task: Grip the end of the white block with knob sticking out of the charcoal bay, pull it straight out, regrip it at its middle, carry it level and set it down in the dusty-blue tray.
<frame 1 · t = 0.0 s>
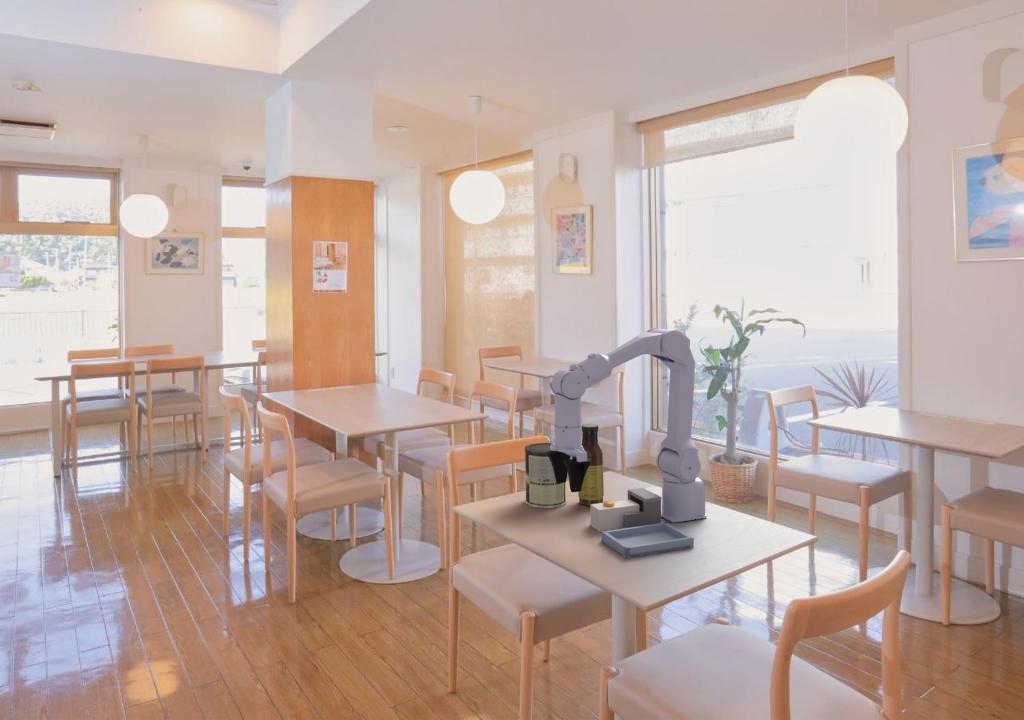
hand: (568, 487, 157), 10 cm above the table, tool pointing down, fingers open, 7 cm apart
tray: (646, 544, 150), on the table
white block with knob: (614, 526, 162), on the table
coffee can: (545, 503, 180), on the table
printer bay: (634, 522, 164), on the table
sauce bottle: (590, 504, 179), on the table
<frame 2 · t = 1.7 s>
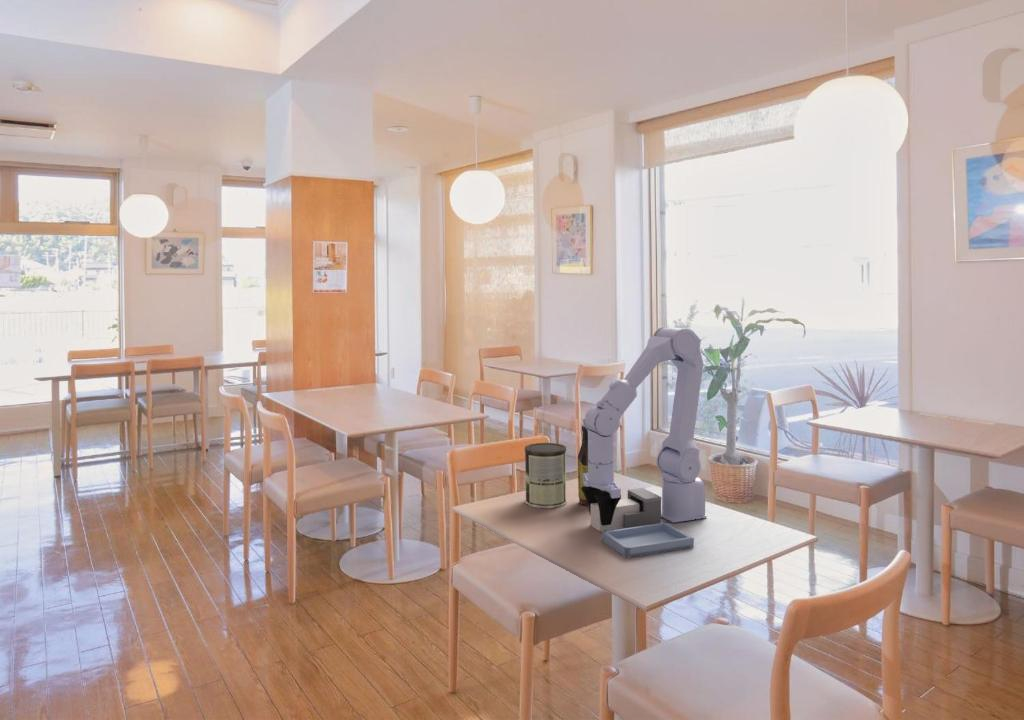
hand: (600, 521, 161), 1 cm above the table, tool pointing down, fingers closed on white block with knob, 4 cm apart
white block with knob: (614, 525, 162), on the table, touching gripper
everything else where it was.
when the fingers open (2 cm above the table, at t = 4.2 s): white block with knob stays where it is, on the table.
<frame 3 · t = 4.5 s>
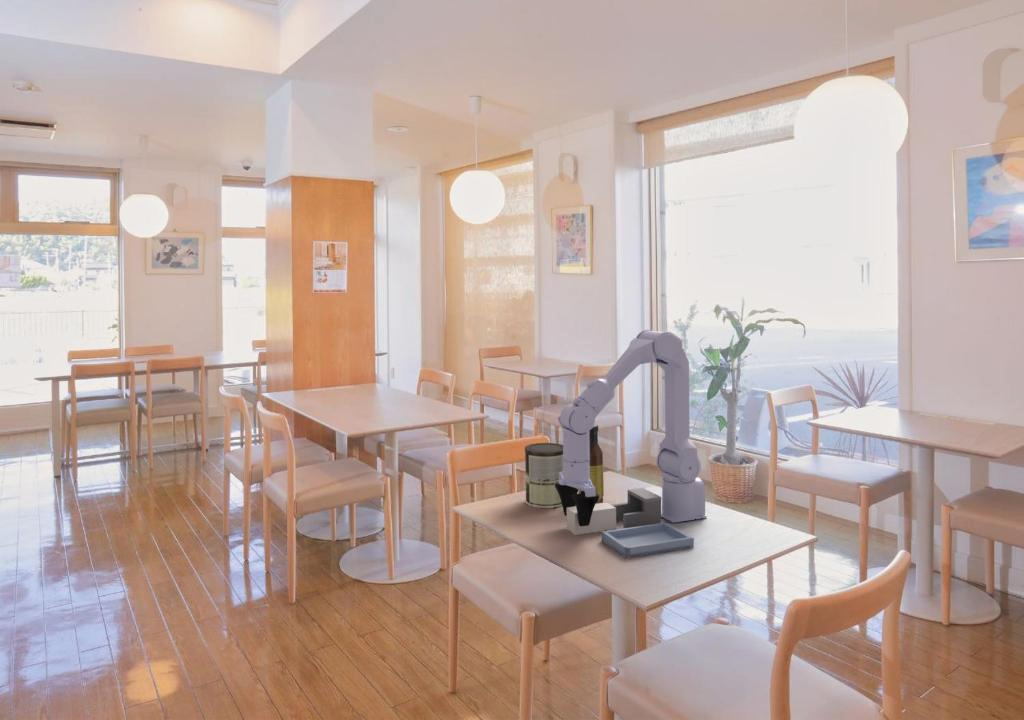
hand: (576, 520, 159), 2 cm above the table, tool pointing down, fingers open, 7 cm apart
white block with knob: (591, 529, 160), on the table
everything else where it was.
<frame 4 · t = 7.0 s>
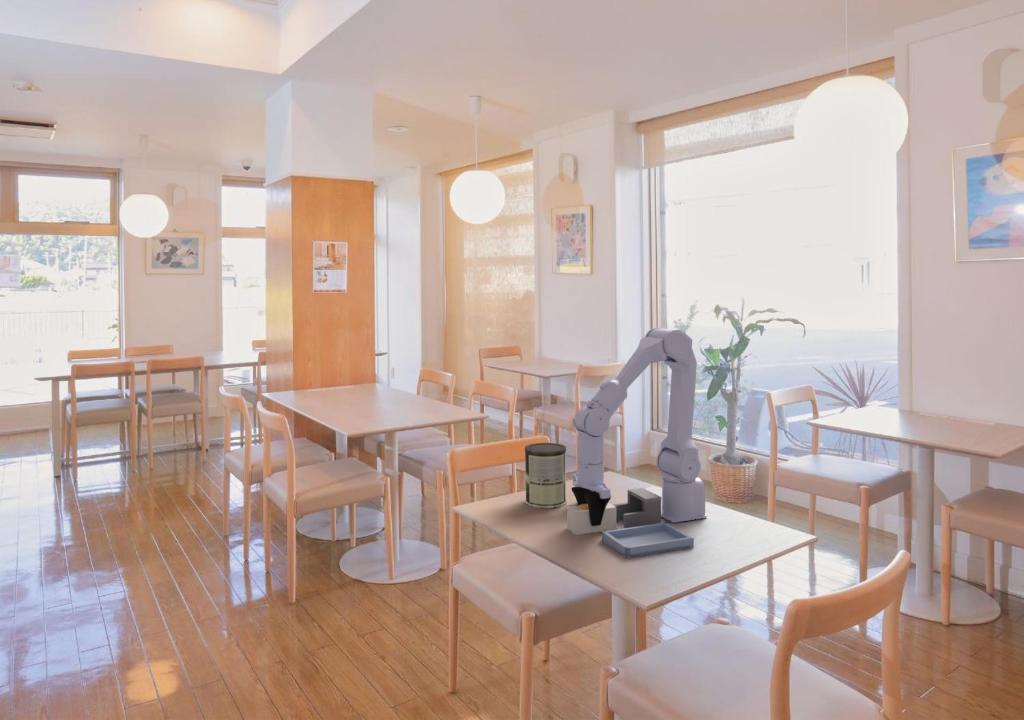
hand: (590, 521, 160), 2 cm above the table, tool pointing down, fingers closed on white block with knob, 4 cm apart
white block with knob: (591, 528, 160), on the table, touching gripper
everything else where it was.
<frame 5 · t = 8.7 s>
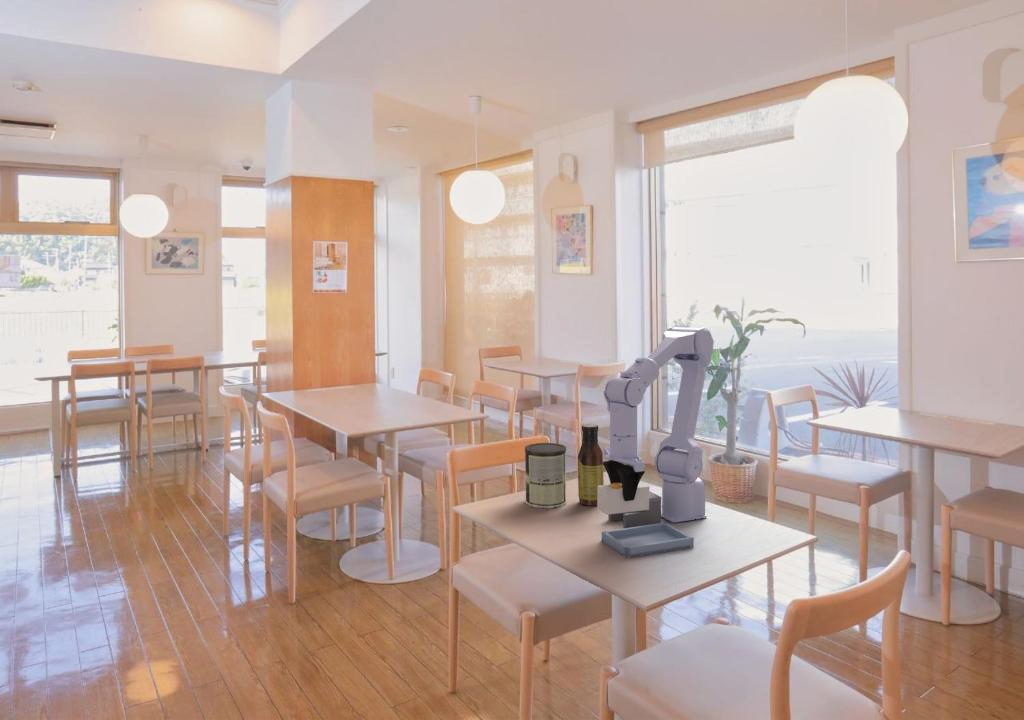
hand: (623, 497, 153), 9 cm above the table, tool pointing down, fingers closed on white block with knob, 4 cm apart
white block with knob: (623, 509, 154), point 6 cm above the table, touching gripper
everything else where it was.
when the fingers open (4 cm above the table, at t = 10.5 s): white block with knob stays where it is, resting on tray.
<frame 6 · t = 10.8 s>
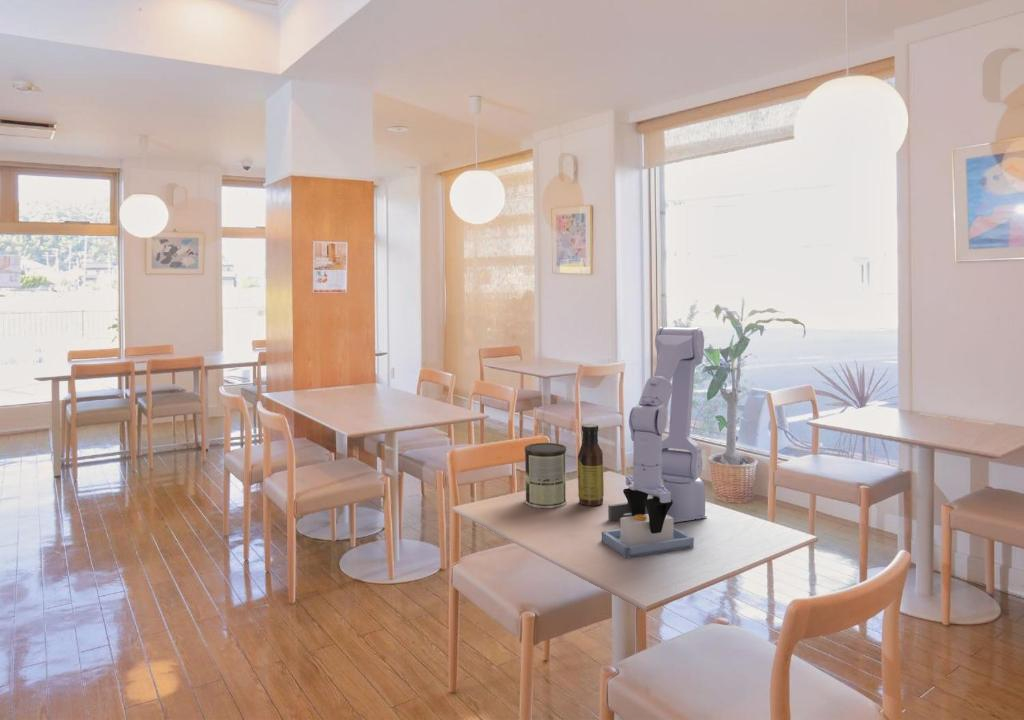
hand: (647, 527, 150), 4 cm above the table, tool pointing down, fingers open, 6 cm apart
white block with knob: (646, 541, 150), point 1 cm above the table, touching tray
everything else where it was.
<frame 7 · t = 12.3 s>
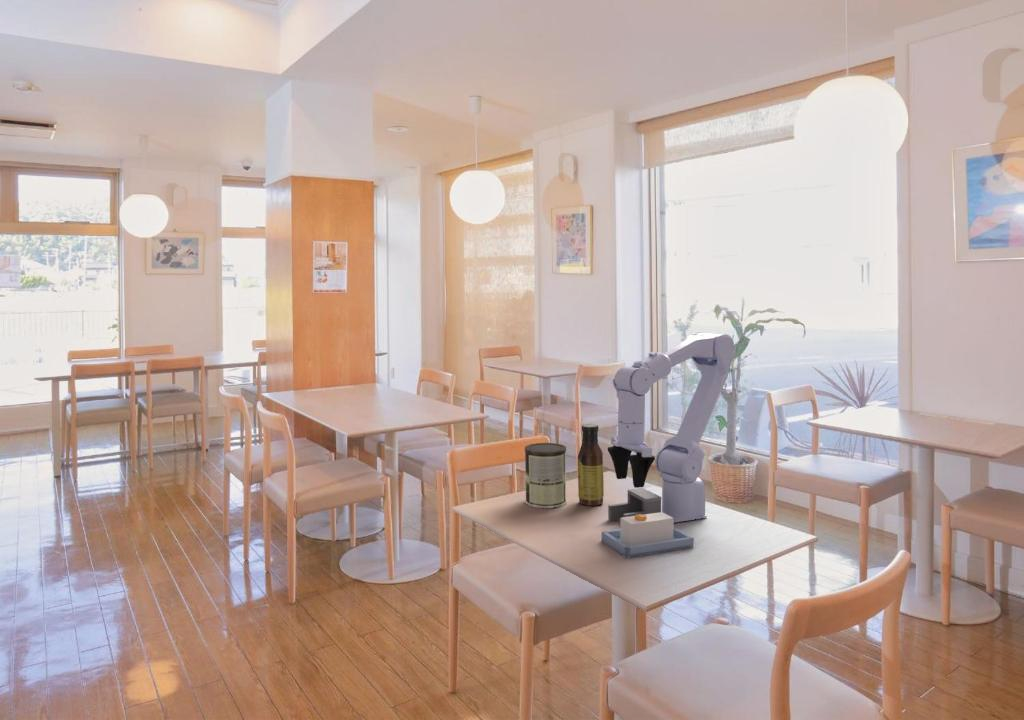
hand: (629, 482, 159), 10 cm above the table, tool pointing down, fingers open, 7 cm apart
nothing on the table moved.
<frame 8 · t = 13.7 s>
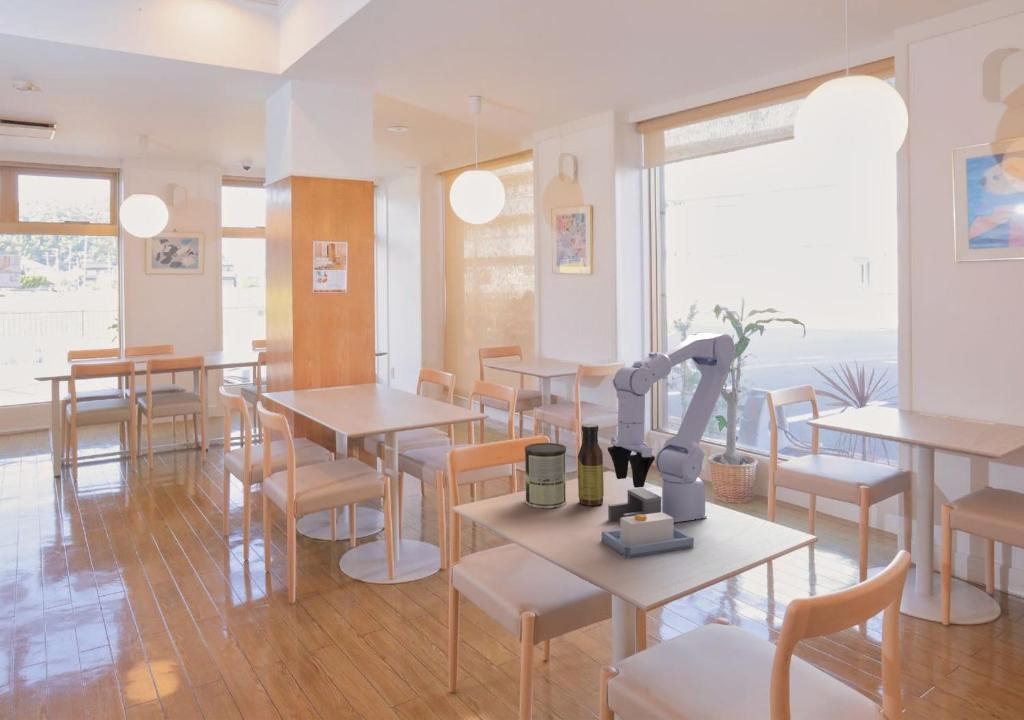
hand: (629, 482, 159), 10 cm above the table, tool pointing down, fingers open, 7 cm apart
nothing on the table moved.
at the end: white block with knob inside the target area on the tray (0.0 cm from its centre), point 0.6 cm above the tray's base; white block with knob tilted 0°; the gripper is holding nothing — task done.
